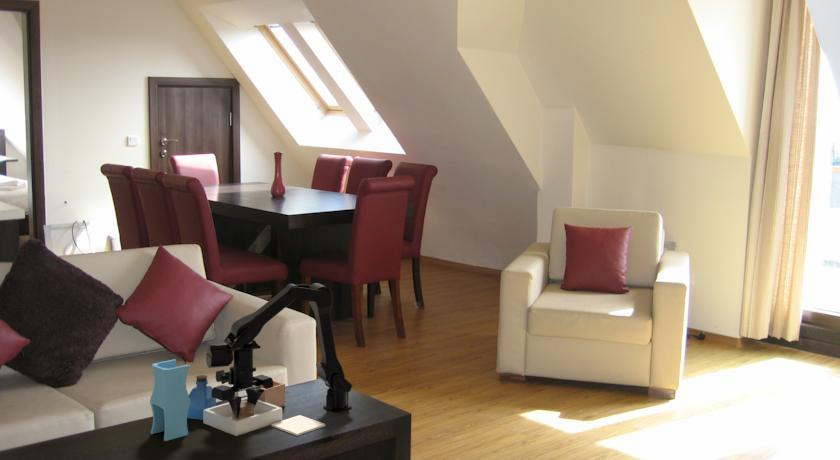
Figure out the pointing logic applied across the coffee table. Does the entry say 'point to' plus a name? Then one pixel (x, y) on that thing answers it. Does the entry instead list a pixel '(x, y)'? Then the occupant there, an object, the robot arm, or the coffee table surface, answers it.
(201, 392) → the perfume bottle
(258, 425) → the white bin
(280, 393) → the terracotta pot
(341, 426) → the coffee table surface
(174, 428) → the vase
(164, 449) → the coffee table surface
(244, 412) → the walnut block
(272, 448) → the coffee table surface
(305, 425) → the cream coaster
